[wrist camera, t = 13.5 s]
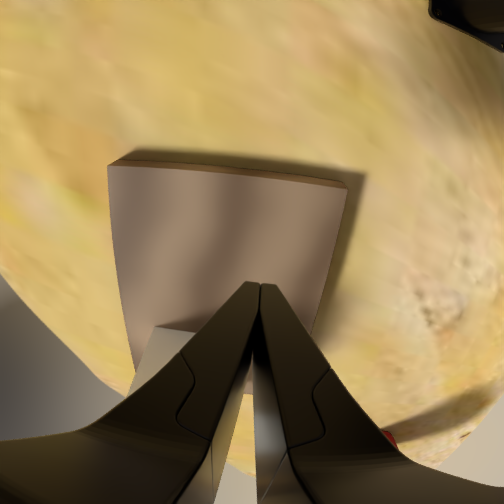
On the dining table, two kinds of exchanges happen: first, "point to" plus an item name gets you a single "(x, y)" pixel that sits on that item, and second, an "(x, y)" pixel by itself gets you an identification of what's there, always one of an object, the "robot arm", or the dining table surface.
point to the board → (216, 241)
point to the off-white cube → (158, 353)
